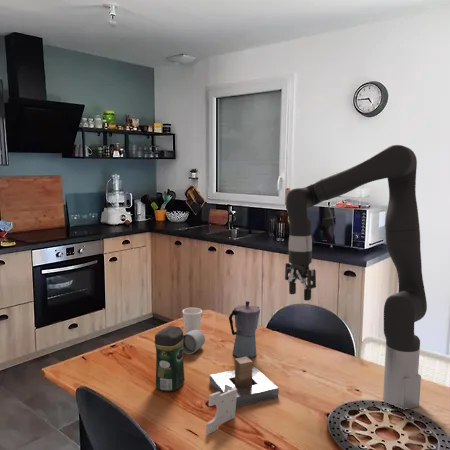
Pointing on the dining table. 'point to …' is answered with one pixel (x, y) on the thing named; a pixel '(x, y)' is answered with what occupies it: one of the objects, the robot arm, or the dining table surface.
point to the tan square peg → (243, 372)
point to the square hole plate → (246, 395)
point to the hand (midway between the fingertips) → (299, 296)
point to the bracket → (222, 407)
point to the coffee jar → (169, 358)
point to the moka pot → (245, 329)
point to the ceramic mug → (193, 341)
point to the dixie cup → (192, 319)
